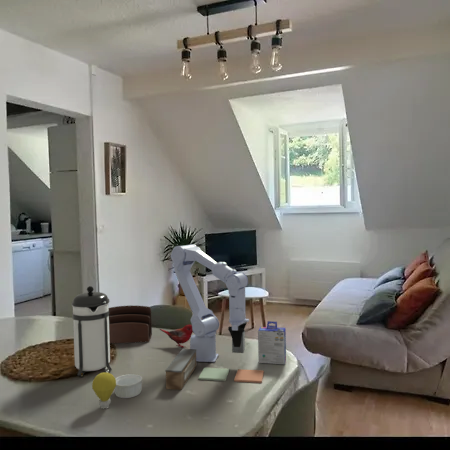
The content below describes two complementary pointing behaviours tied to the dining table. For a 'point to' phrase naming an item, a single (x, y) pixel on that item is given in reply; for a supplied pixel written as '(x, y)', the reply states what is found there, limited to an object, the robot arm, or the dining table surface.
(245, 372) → the terracotta mat
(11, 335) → the dining table surface
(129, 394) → the ramekin
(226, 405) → the dining table surface
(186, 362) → the block
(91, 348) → the coffee press
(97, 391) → the light bulb
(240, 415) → the dining table surface
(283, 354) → the ink cartridge box
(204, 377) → the sage mat
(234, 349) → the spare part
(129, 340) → the letter holder
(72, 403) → the dining table surface
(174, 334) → the decorative bird figurine
